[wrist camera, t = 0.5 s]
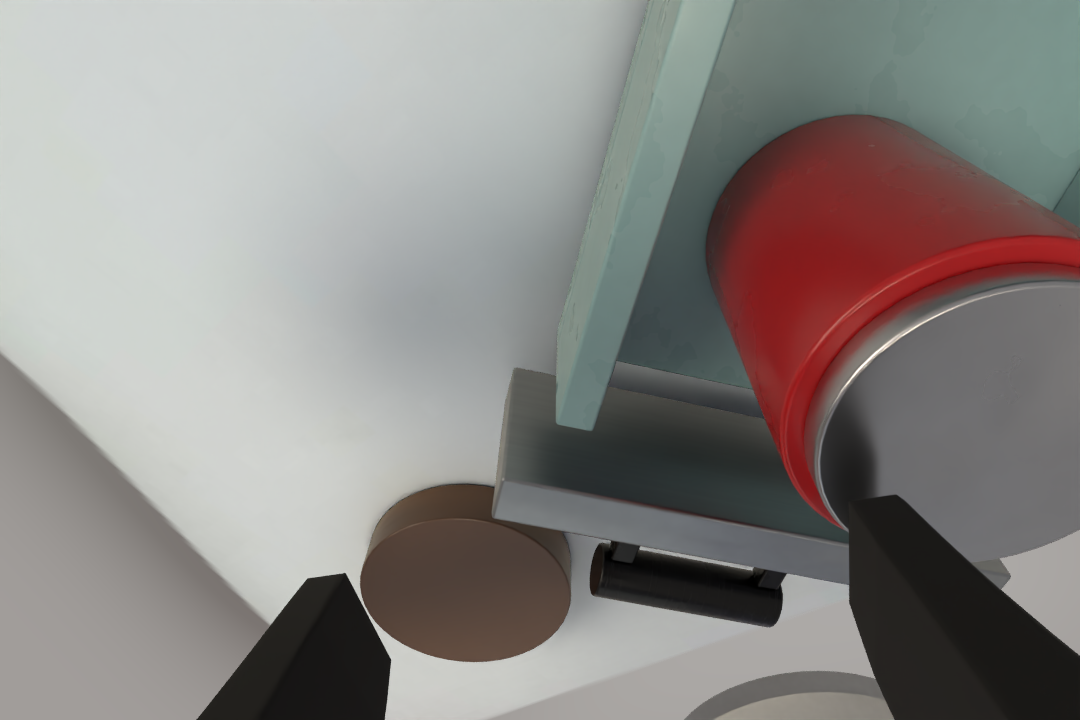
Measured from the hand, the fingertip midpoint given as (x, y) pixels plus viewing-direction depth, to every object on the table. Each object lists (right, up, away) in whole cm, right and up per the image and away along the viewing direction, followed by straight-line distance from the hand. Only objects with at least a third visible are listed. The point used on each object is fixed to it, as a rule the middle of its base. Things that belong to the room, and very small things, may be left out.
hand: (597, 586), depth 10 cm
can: (+5, +6, +5) cm, 9 cm away
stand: (-3, -3, +13) cm, 14 cm away
